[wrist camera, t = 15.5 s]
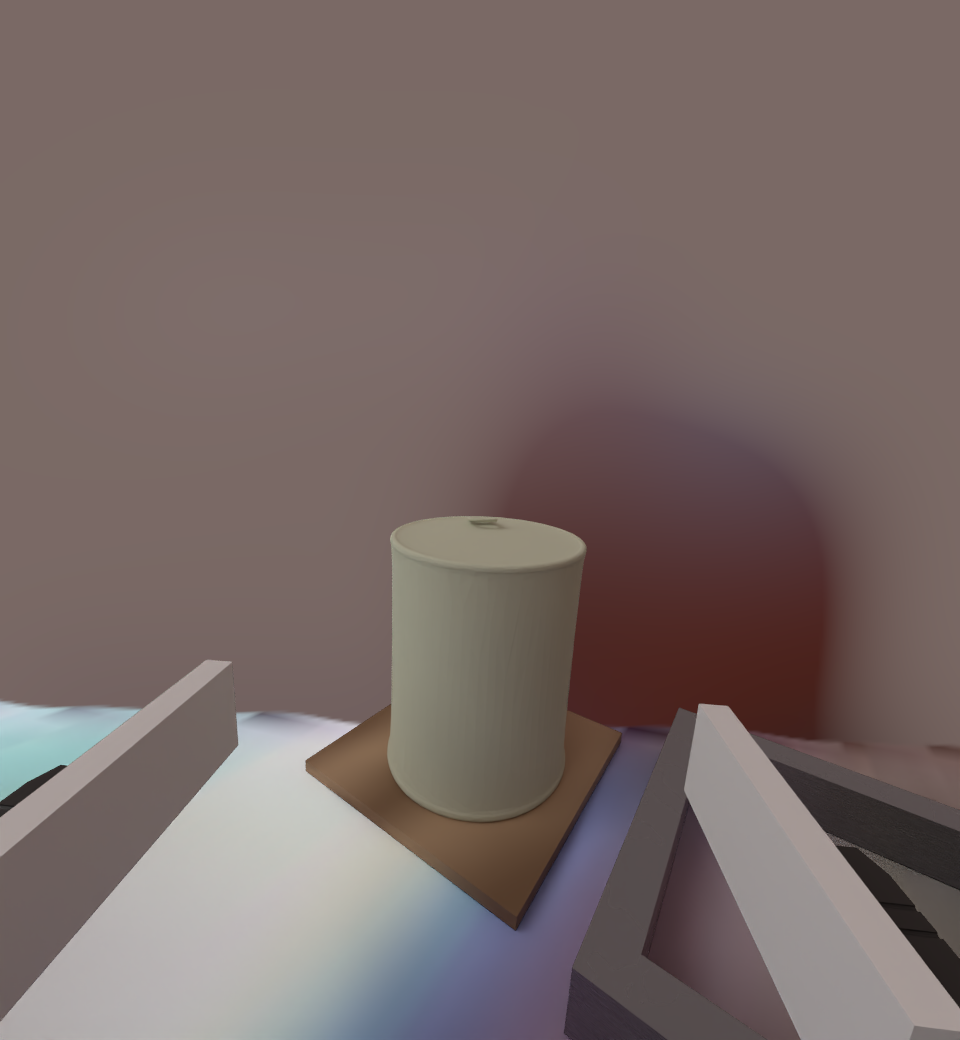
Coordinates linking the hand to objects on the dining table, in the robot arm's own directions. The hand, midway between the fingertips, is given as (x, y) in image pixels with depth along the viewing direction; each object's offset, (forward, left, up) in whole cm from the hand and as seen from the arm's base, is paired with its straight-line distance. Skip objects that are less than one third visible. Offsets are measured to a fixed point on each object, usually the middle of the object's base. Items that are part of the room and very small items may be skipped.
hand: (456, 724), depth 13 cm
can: (-5, +8, -9) cm, 13 cm away
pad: (-5, +8, -9) cm, 13 cm away
